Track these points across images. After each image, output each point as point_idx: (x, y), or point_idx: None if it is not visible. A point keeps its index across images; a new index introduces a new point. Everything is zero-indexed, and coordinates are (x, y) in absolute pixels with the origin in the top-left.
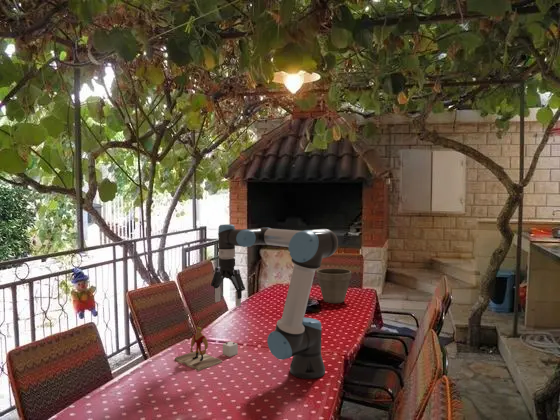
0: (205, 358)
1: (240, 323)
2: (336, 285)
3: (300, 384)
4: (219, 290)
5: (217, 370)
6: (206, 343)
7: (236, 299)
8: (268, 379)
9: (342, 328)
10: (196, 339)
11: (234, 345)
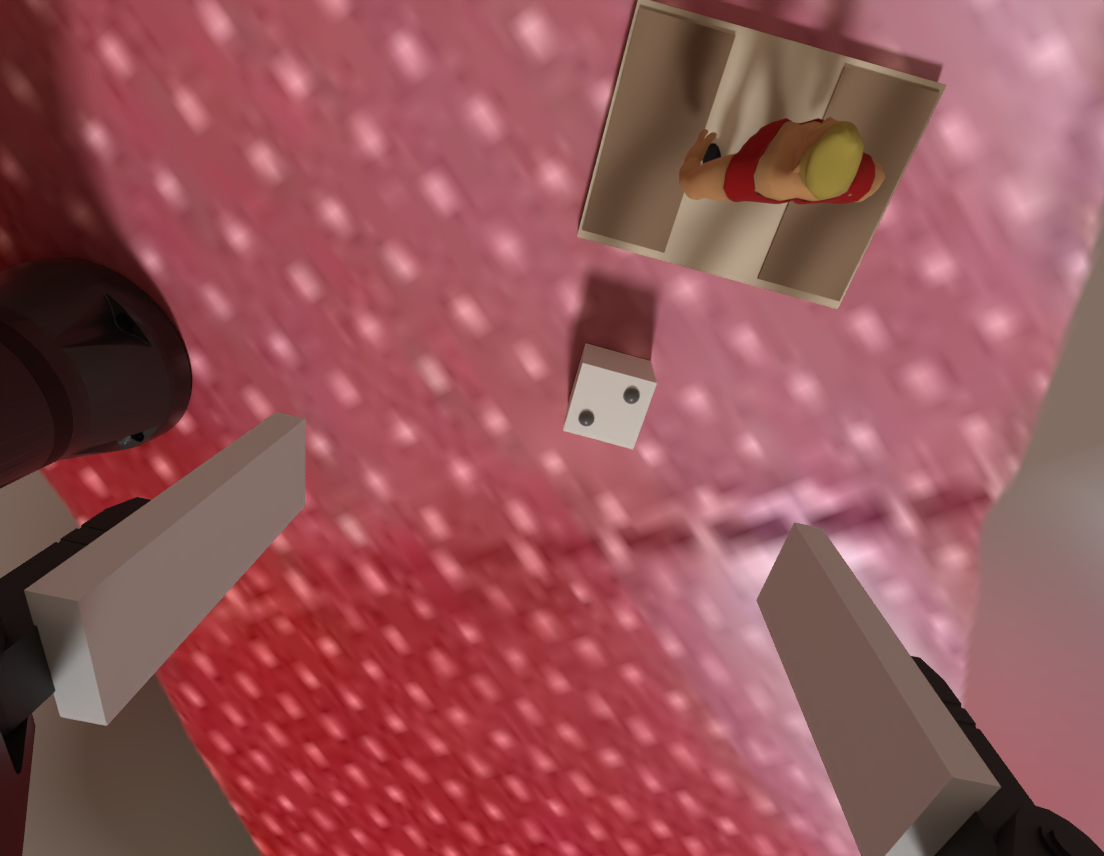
0: (701, 207)
1: (804, 781)
2: None
3: (7, 182)
4: (847, 774)
5: (524, 95)
6: (692, 171)
7: (197, 472)
8: (176, 147)
9: (330, 840)
10: (803, 124)
11: (571, 402)
